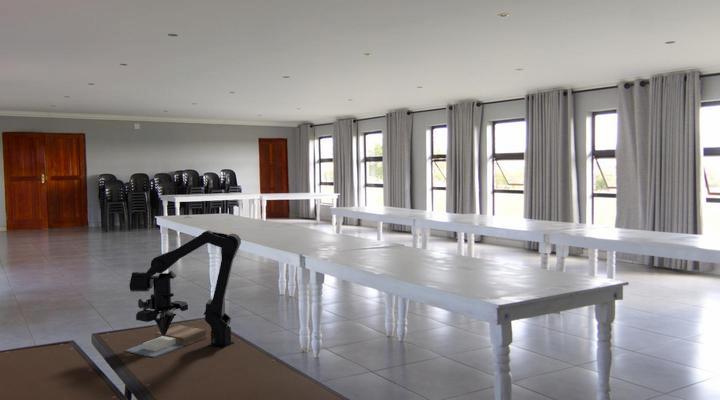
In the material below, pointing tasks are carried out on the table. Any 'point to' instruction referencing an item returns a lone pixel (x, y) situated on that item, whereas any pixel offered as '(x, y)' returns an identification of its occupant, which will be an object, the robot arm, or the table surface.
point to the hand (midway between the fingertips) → (163, 334)
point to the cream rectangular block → (159, 343)
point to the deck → (184, 334)
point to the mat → (152, 353)
